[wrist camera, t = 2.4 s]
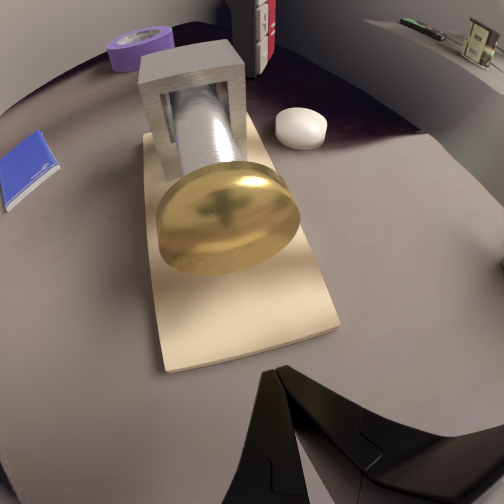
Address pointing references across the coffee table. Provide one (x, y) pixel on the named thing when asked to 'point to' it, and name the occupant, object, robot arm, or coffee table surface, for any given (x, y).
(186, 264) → the shaft
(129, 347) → the coffee table surface
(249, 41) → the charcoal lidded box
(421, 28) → the disk drive
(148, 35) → the tape roll
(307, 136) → the white rounded flat piece
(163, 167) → the bearing block
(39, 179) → the hard drive
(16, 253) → the coffee table surface
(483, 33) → the coffee can
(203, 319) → the board
